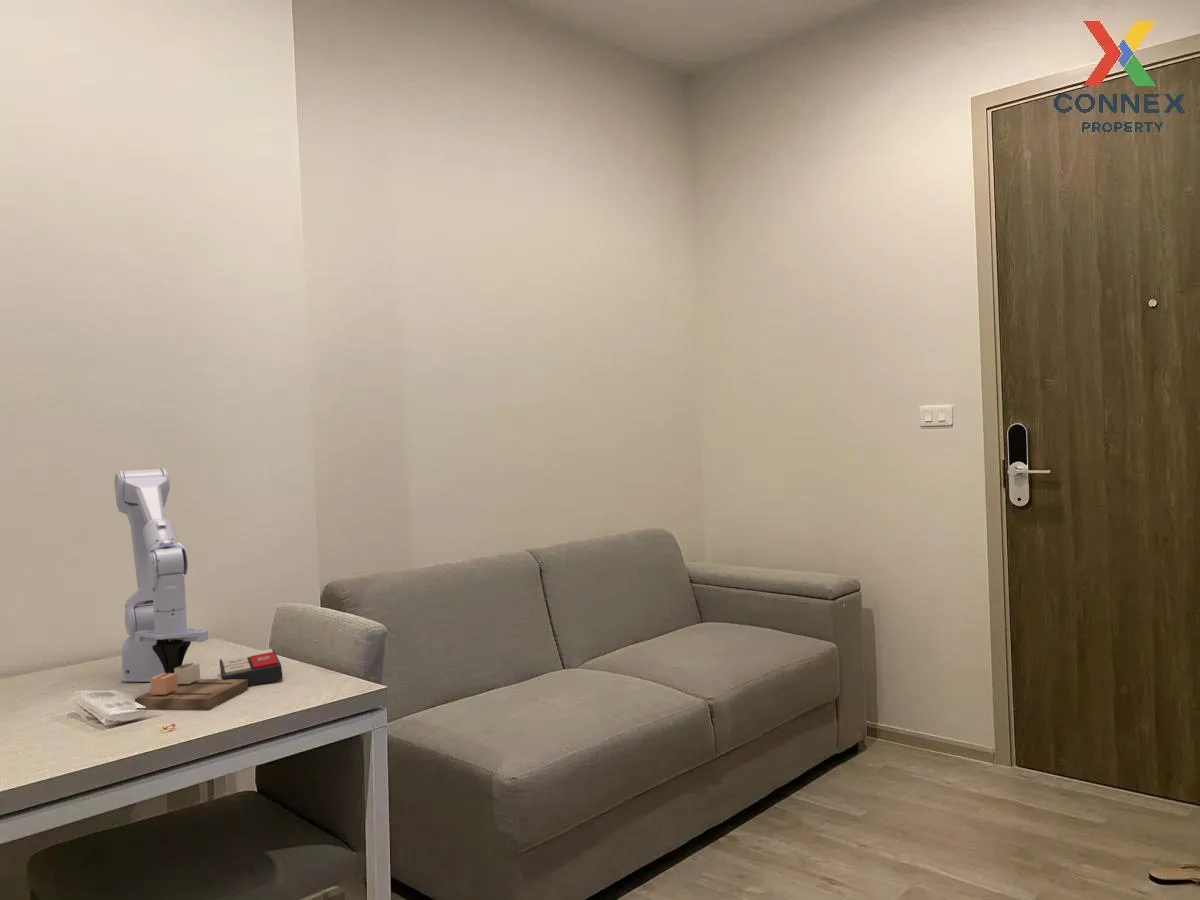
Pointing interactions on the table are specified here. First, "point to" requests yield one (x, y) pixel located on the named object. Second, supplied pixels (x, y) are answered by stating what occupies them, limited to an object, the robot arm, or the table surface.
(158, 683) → the terracotta fader
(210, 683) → the mixer panel
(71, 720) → the table surface
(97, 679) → the table surface
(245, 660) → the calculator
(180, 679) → the ivory fader
